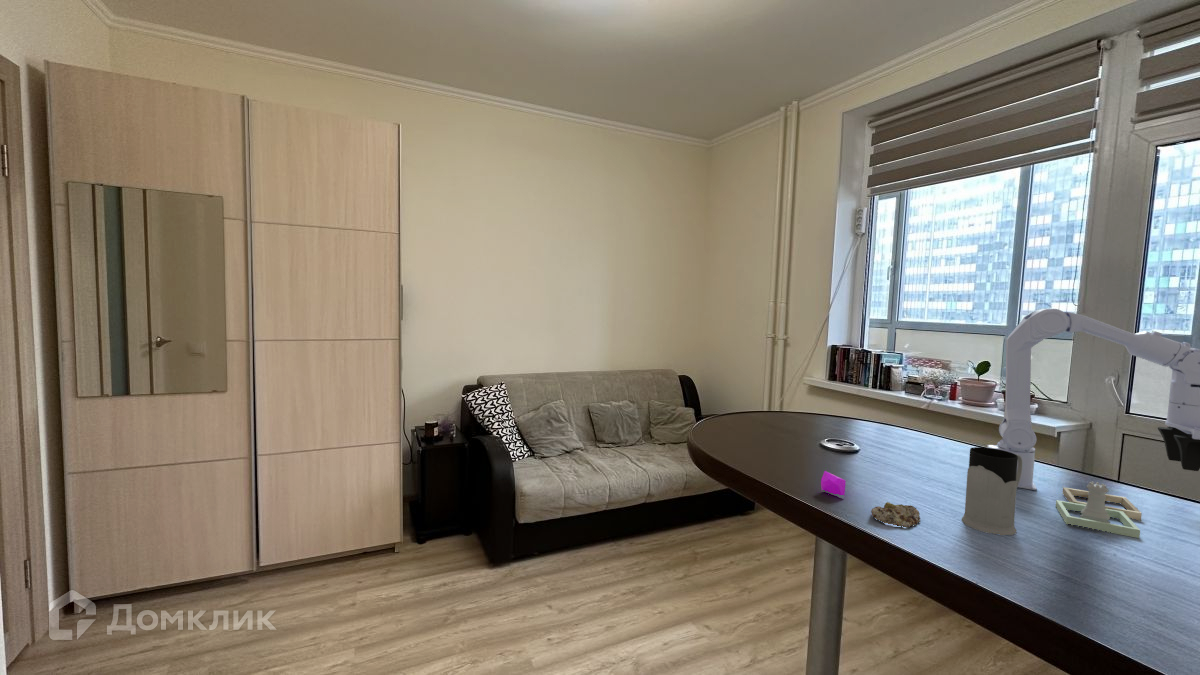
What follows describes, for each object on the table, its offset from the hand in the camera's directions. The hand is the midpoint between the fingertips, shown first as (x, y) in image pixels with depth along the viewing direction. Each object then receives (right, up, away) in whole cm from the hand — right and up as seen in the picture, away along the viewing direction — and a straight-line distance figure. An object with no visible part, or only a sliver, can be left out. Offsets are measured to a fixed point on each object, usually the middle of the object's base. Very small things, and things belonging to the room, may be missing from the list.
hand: (1182, 465), depth 108 cm
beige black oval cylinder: (-46, -10, -7) cm, 48 cm away
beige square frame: (-16, -10, +2) cm, 19 cm away
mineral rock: (-66, -10, -6) cm, 67 cm away
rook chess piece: (-25, -10, -6) cm, 27 cm away
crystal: (-73, -9, +7) cm, 74 cm away
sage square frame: (-25, -10, -6) cm, 27 cm away
